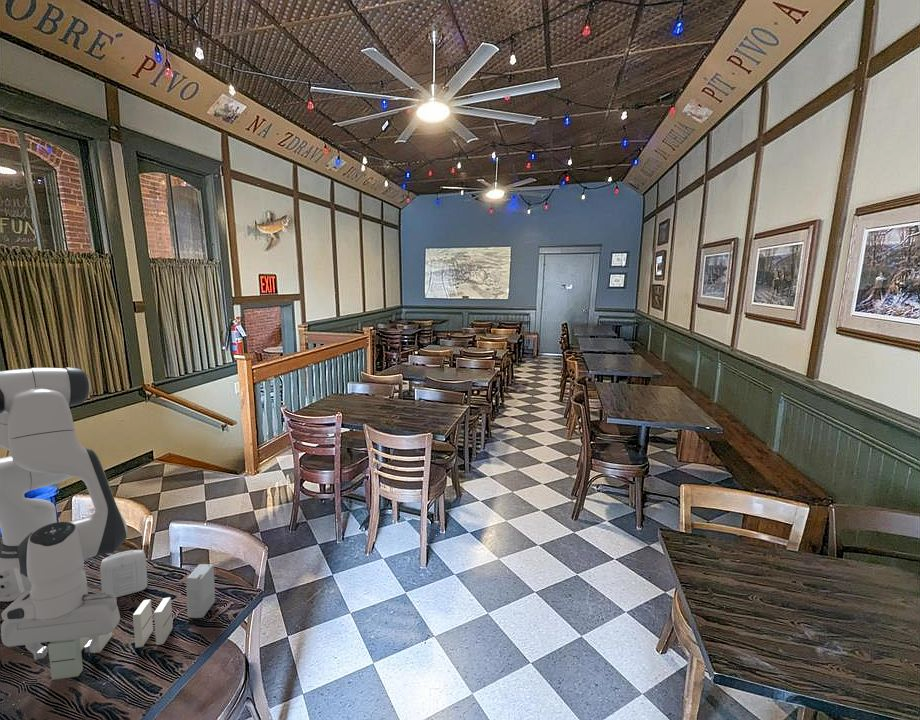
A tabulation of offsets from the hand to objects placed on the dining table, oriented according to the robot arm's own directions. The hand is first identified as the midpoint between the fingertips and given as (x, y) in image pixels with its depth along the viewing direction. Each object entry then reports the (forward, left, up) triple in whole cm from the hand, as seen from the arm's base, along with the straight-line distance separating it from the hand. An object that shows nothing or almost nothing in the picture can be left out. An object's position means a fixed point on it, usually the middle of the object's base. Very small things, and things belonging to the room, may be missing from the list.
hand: (66, 653), depth 91 cm
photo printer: (-2, +27, -6) cm, 28 cm away
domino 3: (+11, +8, -6) cm, 15 cm away
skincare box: (+21, +16, -6) cm, 27 cm away
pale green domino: (0, 0, -6) cm, 6 cm away
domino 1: (-2, +8, -6) cm, 10 cm away
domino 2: (+2, +8, -6) cm, 10 cm away
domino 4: (+16, +8, -6) cm, 19 cm away
